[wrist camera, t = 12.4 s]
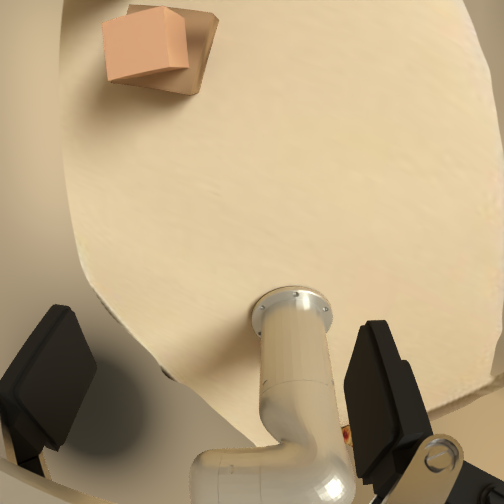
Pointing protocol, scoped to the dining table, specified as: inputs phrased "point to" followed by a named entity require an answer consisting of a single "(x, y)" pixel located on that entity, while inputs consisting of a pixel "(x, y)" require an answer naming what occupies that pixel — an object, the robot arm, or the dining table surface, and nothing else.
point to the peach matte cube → (145, 43)
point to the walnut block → (198, 47)
